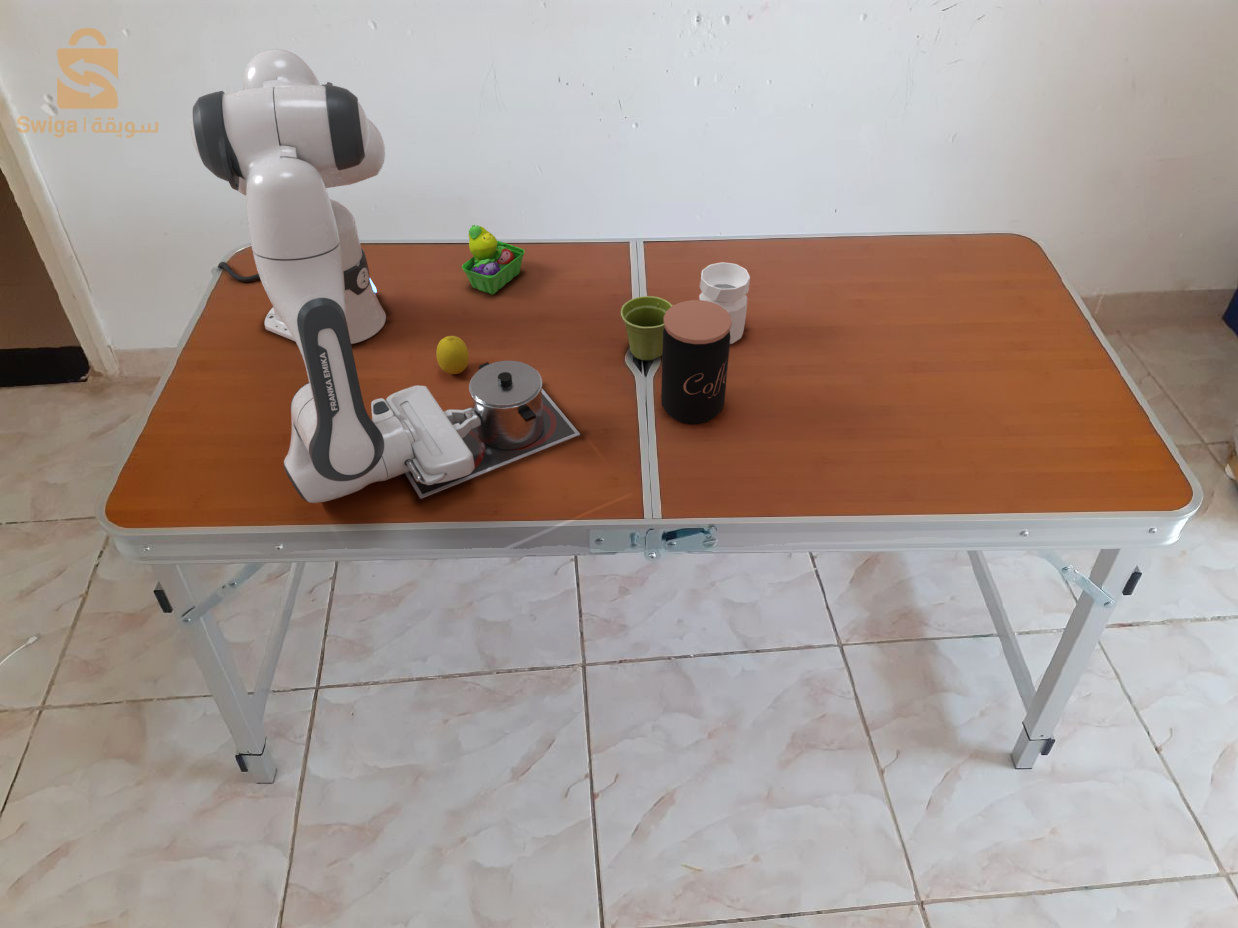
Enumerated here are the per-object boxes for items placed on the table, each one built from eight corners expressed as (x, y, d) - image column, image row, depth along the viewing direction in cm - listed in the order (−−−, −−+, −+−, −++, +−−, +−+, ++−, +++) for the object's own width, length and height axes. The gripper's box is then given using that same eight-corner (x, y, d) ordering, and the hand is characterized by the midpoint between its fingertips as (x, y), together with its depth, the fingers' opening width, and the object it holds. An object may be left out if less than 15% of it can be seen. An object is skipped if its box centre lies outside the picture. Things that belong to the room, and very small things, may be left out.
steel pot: (502, 469, 151) (495, 417, 143) (457, 414, 160) (449, 363, 153) (565, 440, 155) (562, 389, 148) (518, 389, 165) (512, 338, 157)
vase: (690, 339, 175) (693, 283, 167) (705, 313, 181) (709, 258, 173) (736, 350, 173) (741, 294, 164) (750, 323, 179) (755, 268, 170)
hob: (420, 500, 147) (420, 498, 146) (385, 443, 156) (385, 440, 156) (580, 436, 157) (580, 434, 156) (538, 386, 166) (538, 383, 166)
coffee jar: (681, 435, 157) (685, 347, 144) (649, 398, 164) (650, 311, 151) (736, 414, 160) (745, 327, 148) (702, 379, 167) (708, 292, 154)
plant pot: (668, 370, 169) (670, 330, 163) (616, 363, 170) (615, 324, 164) (676, 338, 175) (678, 299, 169) (626, 332, 177) (626, 293, 171)
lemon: (476, 367, 170) (471, 330, 164) (462, 386, 166) (457, 349, 161) (448, 361, 171) (442, 324, 166) (434, 379, 168) (427, 343, 162)
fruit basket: (494, 300, 185) (488, 249, 177) (458, 287, 188) (450, 236, 180) (528, 272, 191) (524, 222, 184) (493, 259, 195) (487, 210, 187)
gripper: (416, 472, 139) (502, 439, 144) (368, 394, 151) (449, 366, 156) (423, 502, 143) (506, 469, 148) (376, 424, 156) (454, 395, 161)
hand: (477, 415), depth 152 cm, fingers closed, pressing on steel pot
